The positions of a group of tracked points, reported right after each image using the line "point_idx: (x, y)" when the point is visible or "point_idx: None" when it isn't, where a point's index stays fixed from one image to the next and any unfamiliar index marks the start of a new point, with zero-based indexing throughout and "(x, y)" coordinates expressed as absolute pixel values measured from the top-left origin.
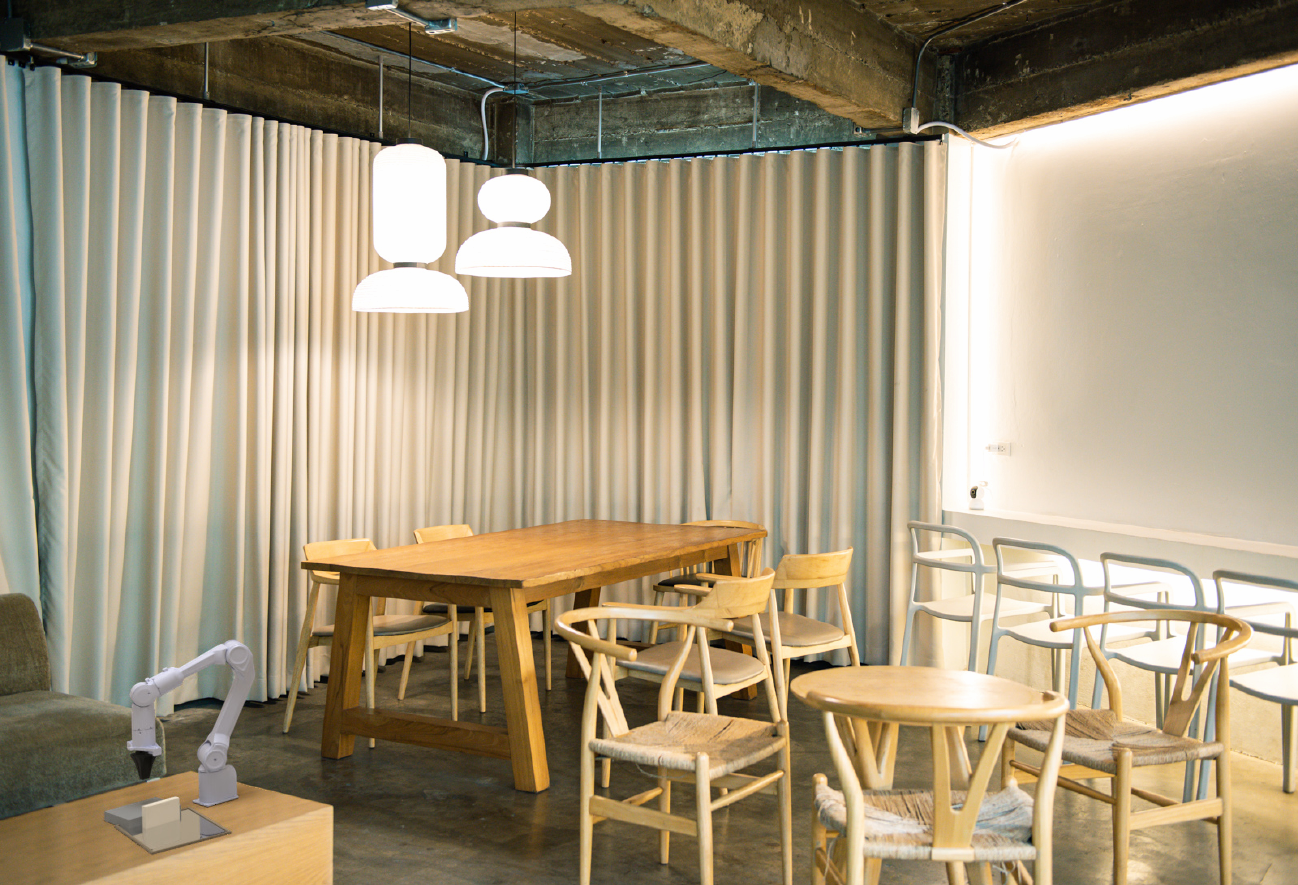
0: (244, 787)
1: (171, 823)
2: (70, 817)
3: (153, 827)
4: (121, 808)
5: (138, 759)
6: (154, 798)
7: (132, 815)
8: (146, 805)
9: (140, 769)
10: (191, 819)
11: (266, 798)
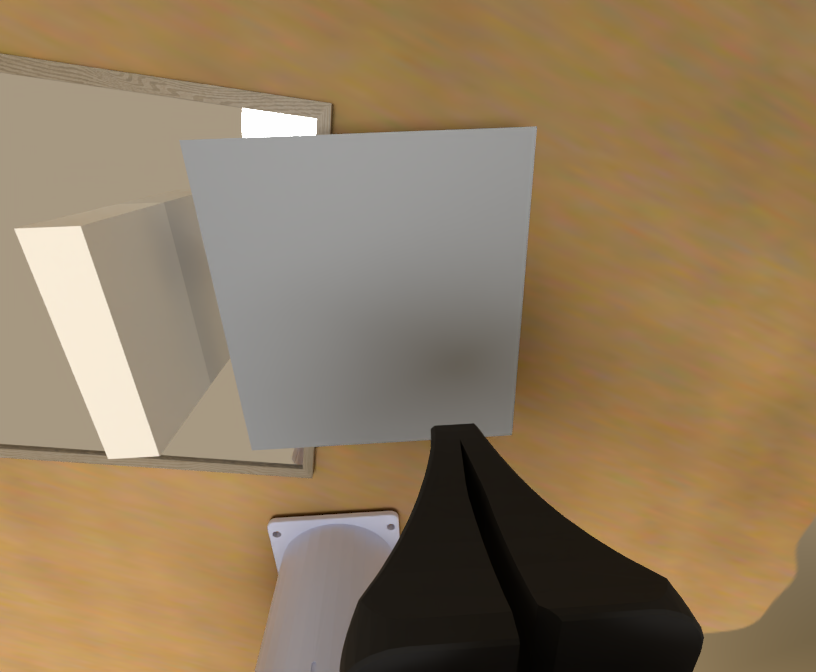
0: None
1: None
2: (799, 14)
3: None
4: (485, 230)
5: (401, 585)
6: (489, 420)
7: (272, 206)
8: (68, 254)
9: (431, 484)
10: None
11: (205, 654)
